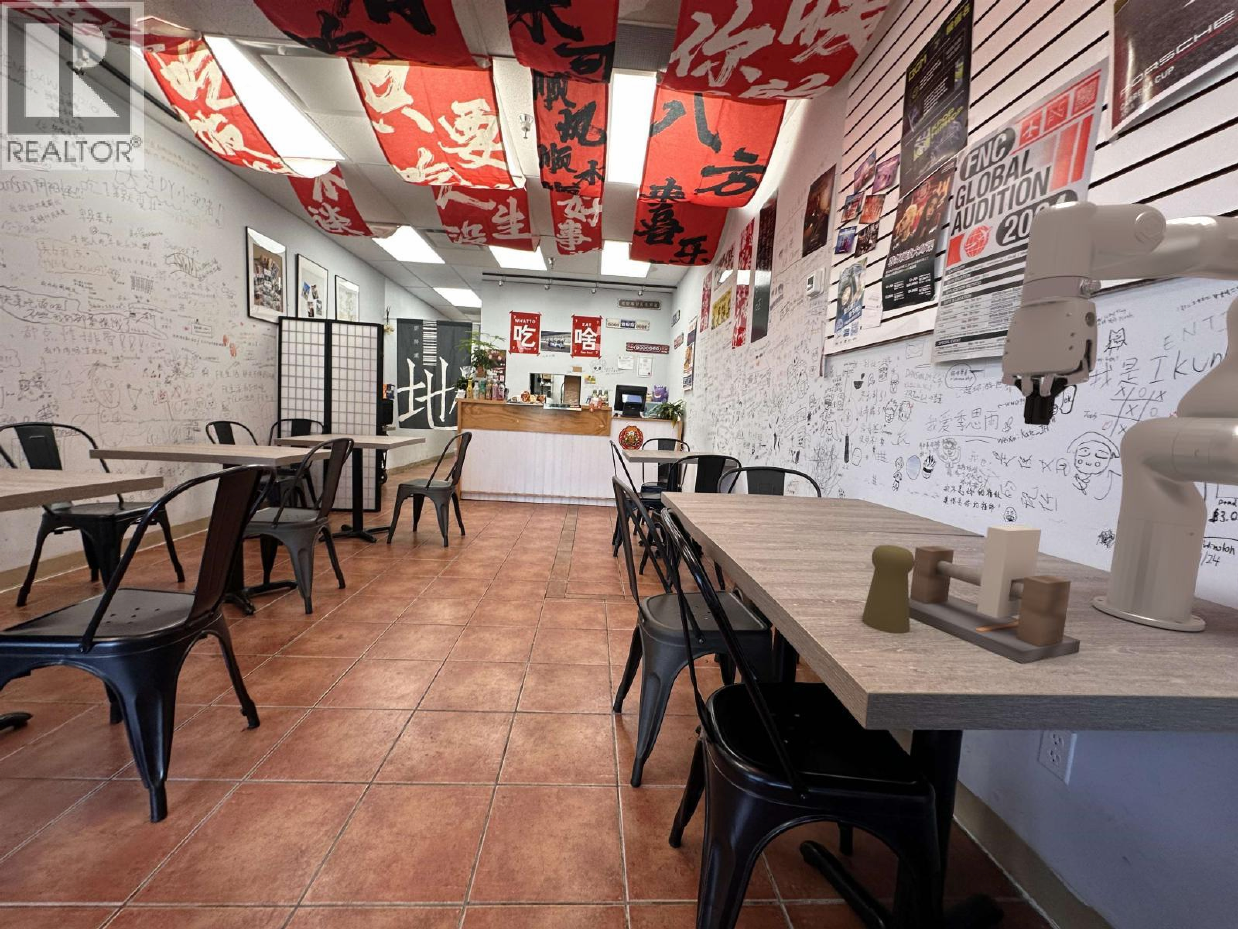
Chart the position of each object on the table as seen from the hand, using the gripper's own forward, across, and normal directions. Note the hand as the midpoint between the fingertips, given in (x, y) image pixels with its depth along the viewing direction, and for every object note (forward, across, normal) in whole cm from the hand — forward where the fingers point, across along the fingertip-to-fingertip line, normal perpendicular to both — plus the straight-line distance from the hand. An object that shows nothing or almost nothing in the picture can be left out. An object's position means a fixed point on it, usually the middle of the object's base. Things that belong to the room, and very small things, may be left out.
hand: (1036, 424), depth 77 cm
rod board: (+29, -2, +11) cm, 31 cm away
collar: (+26, -5, +11) cm, 28 cm away
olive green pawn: (+29, +3, +23) cm, 37 cm away
